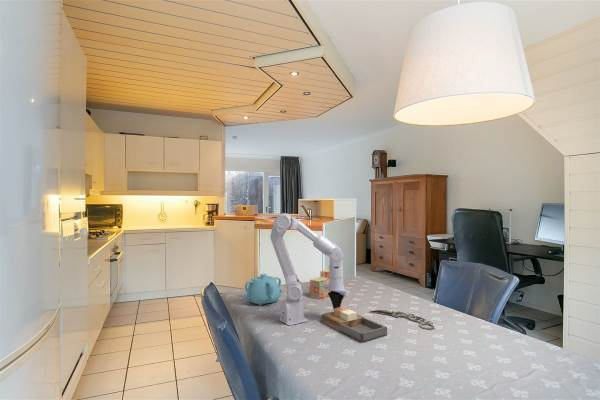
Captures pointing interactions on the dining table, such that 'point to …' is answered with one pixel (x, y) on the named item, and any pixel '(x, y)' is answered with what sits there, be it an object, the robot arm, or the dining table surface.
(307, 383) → the dining table surface
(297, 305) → the robot arm
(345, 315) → the cream tile
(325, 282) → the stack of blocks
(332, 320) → the wooden square board
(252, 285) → the decorative pot
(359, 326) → the gray box
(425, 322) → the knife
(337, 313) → the salmon cube
